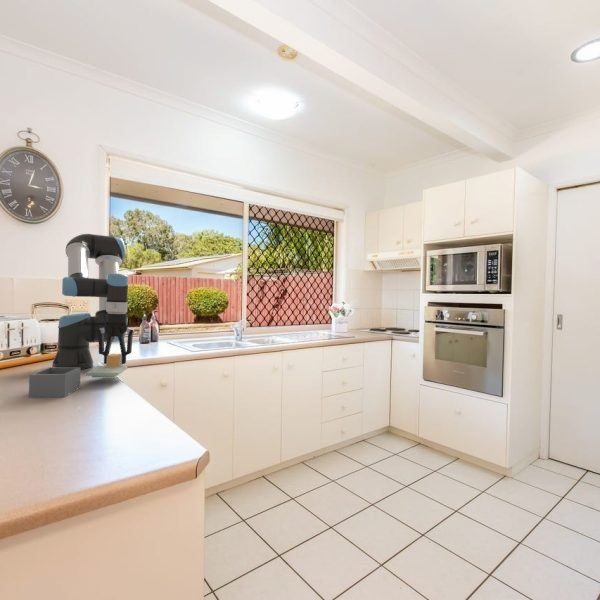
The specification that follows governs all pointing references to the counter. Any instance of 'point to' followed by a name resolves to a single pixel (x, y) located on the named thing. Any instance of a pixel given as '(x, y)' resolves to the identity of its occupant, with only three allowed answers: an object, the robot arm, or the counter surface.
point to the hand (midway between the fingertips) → (114, 371)
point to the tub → (54, 382)
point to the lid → (108, 368)
